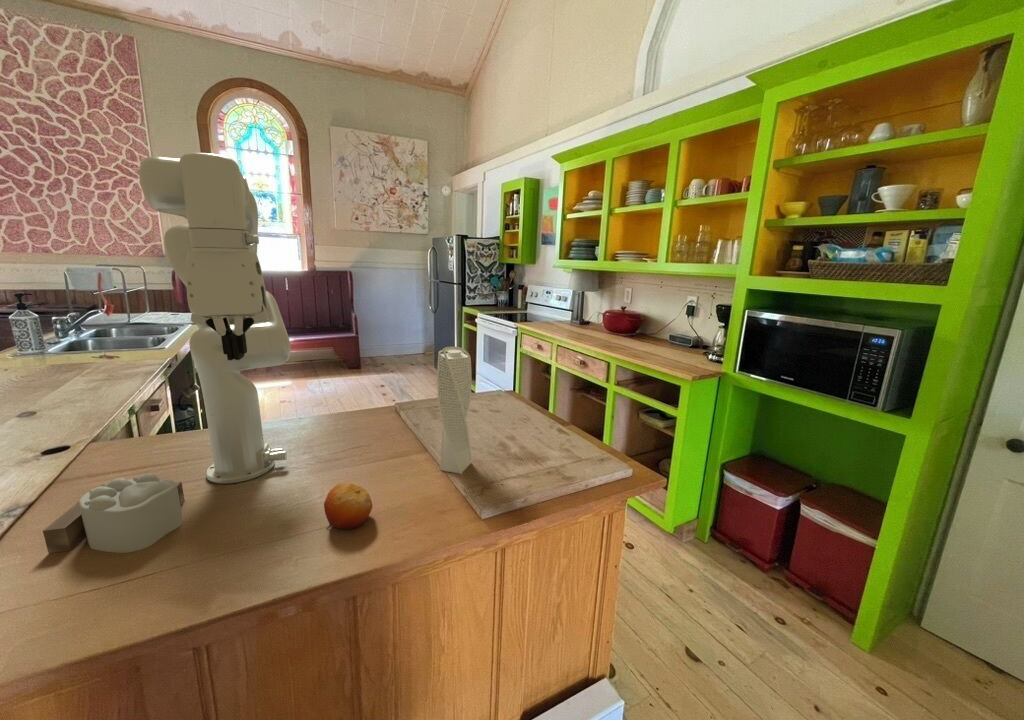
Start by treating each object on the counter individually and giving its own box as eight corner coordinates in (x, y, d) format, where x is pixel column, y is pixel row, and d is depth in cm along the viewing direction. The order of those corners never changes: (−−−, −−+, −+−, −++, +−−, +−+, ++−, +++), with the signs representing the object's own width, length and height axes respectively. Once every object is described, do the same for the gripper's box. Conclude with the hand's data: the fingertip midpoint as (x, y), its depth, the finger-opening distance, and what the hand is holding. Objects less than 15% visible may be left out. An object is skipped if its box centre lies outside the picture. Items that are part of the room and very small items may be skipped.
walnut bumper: (184, 500, 83) (181, 481, 82) (153, 539, 72) (148, 517, 71) (96, 511, 79) (91, 491, 78) (48, 553, 68) (42, 530, 67)
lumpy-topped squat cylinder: (135, 556, 68) (124, 506, 66) (65, 546, 70) (53, 497, 68) (192, 517, 78) (185, 473, 76) (130, 510, 80) (121, 466, 78)
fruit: (322, 503, 80) (343, 468, 79) (362, 522, 82) (382, 488, 80) (306, 530, 72) (328, 492, 71) (350, 550, 74) (372, 513, 73)
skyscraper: (463, 478, 93) (461, 349, 86) (432, 472, 95) (428, 346, 89) (478, 462, 100) (477, 341, 94) (448, 457, 102) (446, 339, 96)
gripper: (279, 243, 73) (291, 351, 77) (174, 241, 69) (193, 355, 73) (268, 242, 66) (281, 361, 70) (151, 240, 62) (172, 366, 66)
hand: (236, 358), depth 72 cm, fingers closed
